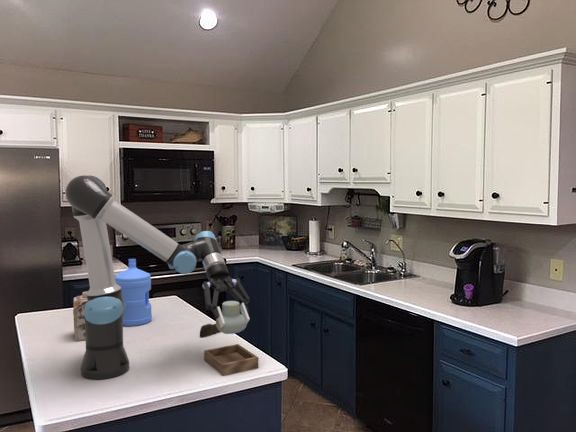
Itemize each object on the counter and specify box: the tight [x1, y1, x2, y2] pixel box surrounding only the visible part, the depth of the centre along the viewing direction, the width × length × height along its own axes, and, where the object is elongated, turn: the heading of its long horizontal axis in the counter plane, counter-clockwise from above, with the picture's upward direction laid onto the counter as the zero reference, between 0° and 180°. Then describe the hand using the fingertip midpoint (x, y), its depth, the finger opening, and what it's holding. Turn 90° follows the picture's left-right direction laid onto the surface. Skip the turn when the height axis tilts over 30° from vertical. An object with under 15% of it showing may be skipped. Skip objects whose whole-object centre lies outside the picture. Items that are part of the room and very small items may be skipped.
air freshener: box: [215, 300, 248, 335], centre depth 169 cm, size 11×8×10 cm
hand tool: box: [199, 323, 220, 338], centre depth 206 cm, size 19×4×5 cm, turn 140°
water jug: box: [115, 258, 153, 327], centre depth 220 cm, size 16×16×28 cm
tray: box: [203, 343, 259, 377], centre depth 170 cm, size 13×16×4 cm
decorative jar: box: [72, 290, 89, 342], centre depth 200 cm, size 12×12×18 cm
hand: (235, 323), depth 166 cm, fingers closed on air freshener, 8 cm apart
